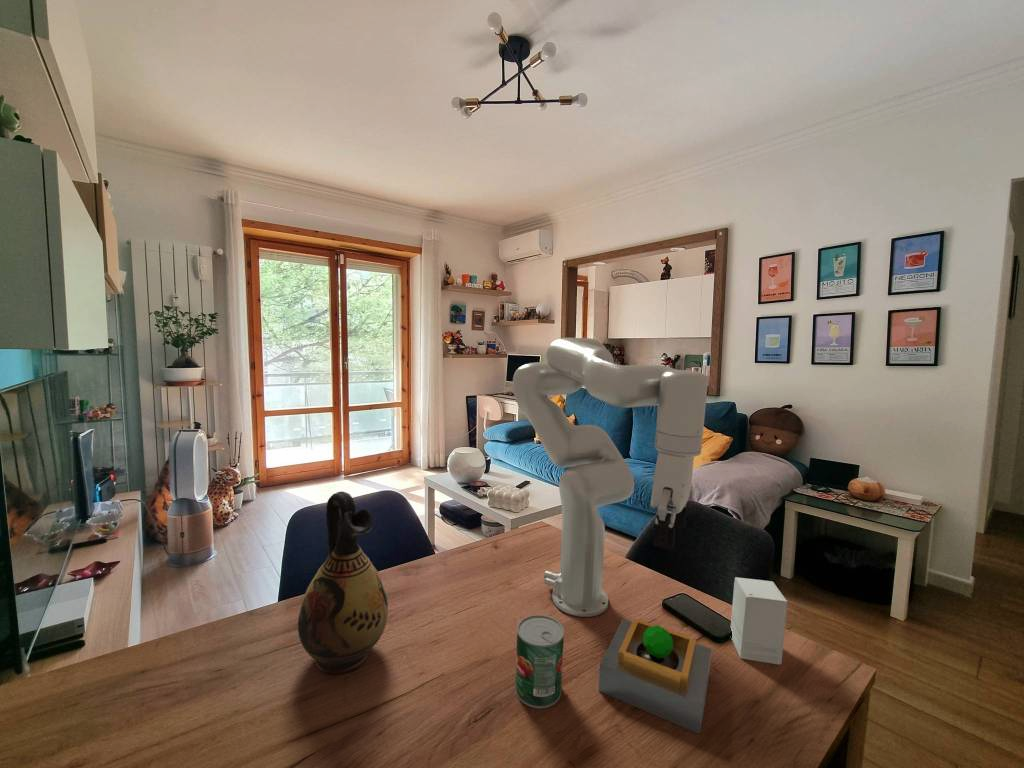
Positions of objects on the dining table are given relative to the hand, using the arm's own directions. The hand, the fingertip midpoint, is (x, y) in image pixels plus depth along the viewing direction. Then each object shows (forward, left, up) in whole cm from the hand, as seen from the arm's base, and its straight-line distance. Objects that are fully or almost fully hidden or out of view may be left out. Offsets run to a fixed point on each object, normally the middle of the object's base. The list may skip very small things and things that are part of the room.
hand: (669, 536), depth 78 cm
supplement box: (+15, +15, -25) cm, 33 cm away
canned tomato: (-17, -16, -25) cm, 35 cm away
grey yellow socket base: (0, -3, -25) cm, 25 cm away
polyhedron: (0, -4, -20) cm, 21 cm away
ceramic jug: (-52, -27, -25) cm, 64 cm away
